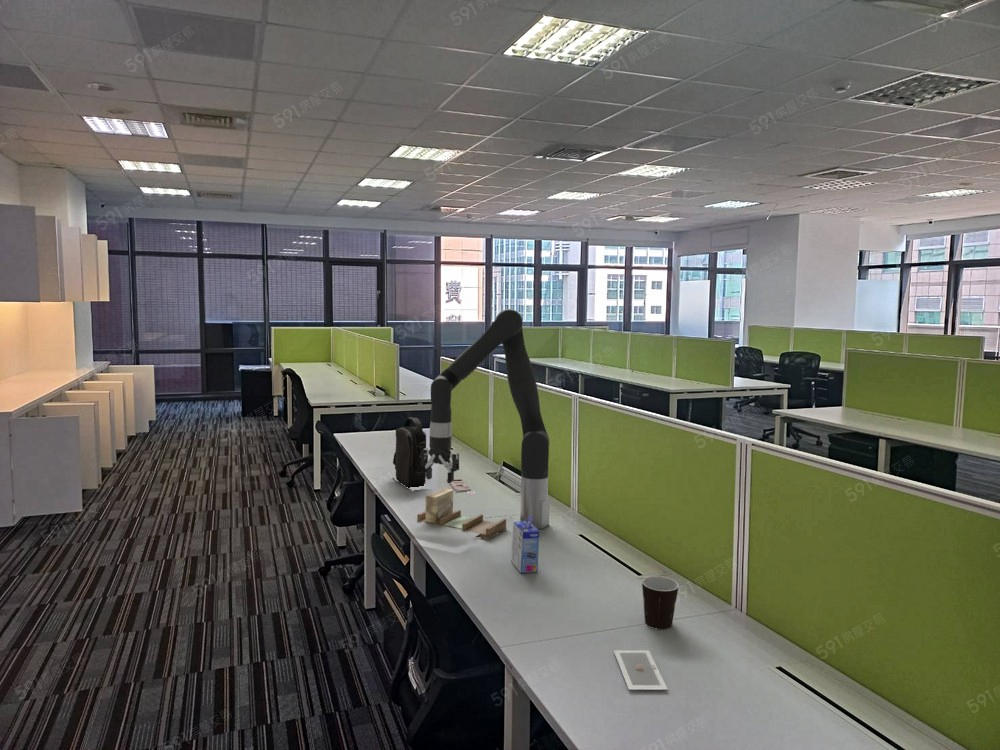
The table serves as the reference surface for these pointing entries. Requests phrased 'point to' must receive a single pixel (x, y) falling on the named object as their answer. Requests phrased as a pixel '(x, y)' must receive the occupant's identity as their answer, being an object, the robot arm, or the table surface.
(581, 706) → the table surface
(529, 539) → the ink cartridge box
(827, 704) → the table surface
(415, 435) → the shoulder bag
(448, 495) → the tall beige wooden block
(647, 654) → the touchpad
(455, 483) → the plaque
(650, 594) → the coffee mug
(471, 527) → the notched rack
